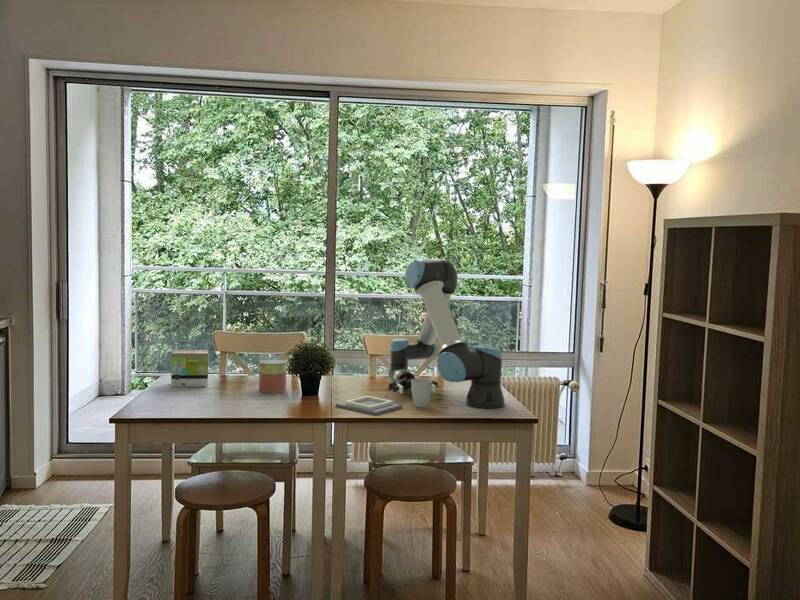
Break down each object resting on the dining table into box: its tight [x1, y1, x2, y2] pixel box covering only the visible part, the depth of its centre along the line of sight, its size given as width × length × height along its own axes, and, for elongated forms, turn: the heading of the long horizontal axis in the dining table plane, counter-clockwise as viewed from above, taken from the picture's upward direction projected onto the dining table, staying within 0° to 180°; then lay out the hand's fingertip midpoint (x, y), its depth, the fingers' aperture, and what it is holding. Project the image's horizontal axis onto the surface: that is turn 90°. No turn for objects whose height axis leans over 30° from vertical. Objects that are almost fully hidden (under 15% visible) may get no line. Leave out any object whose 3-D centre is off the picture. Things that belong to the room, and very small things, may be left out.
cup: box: [411, 378, 433, 408], centre depth 290 cm, size 8×8×10 cm
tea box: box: [170, 349, 209, 388], centre depth 318 cm, size 15×10×15 cm, turn 104°
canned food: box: [258, 358, 287, 393], centre depth 312 cm, size 11×11×12 cm
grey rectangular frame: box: [335, 395, 403, 416], centre depth 286 cm, size 20×16×2 cm
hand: (418, 389), depth 292 cm, fingers open, 13 cm apart
